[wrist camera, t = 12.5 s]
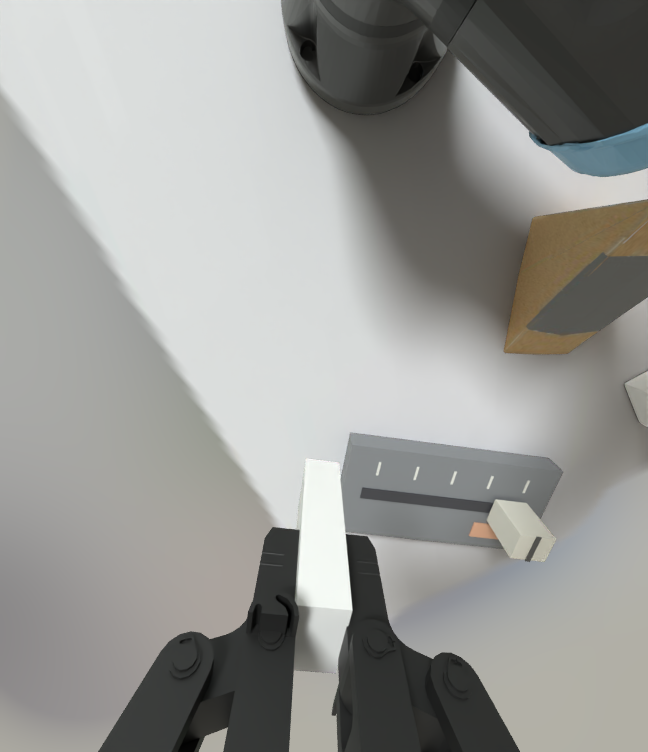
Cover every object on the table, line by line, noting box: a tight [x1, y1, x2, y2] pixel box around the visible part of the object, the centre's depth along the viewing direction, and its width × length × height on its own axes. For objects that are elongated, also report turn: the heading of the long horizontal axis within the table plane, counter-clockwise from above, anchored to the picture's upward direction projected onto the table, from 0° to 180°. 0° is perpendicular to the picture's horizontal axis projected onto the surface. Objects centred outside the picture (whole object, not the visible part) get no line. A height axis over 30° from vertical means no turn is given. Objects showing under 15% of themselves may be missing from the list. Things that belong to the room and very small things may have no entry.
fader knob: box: [487, 499, 556, 562], centre depth 42 cm, size 4×4×6 cm
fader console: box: [341, 433, 563, 549], centre depth 46 cm, size 14×28×3 cm, turn 81°
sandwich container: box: [504, 199, 648, 354], centre depth 31 cm, size 9×15×15 cm, turn 179°
